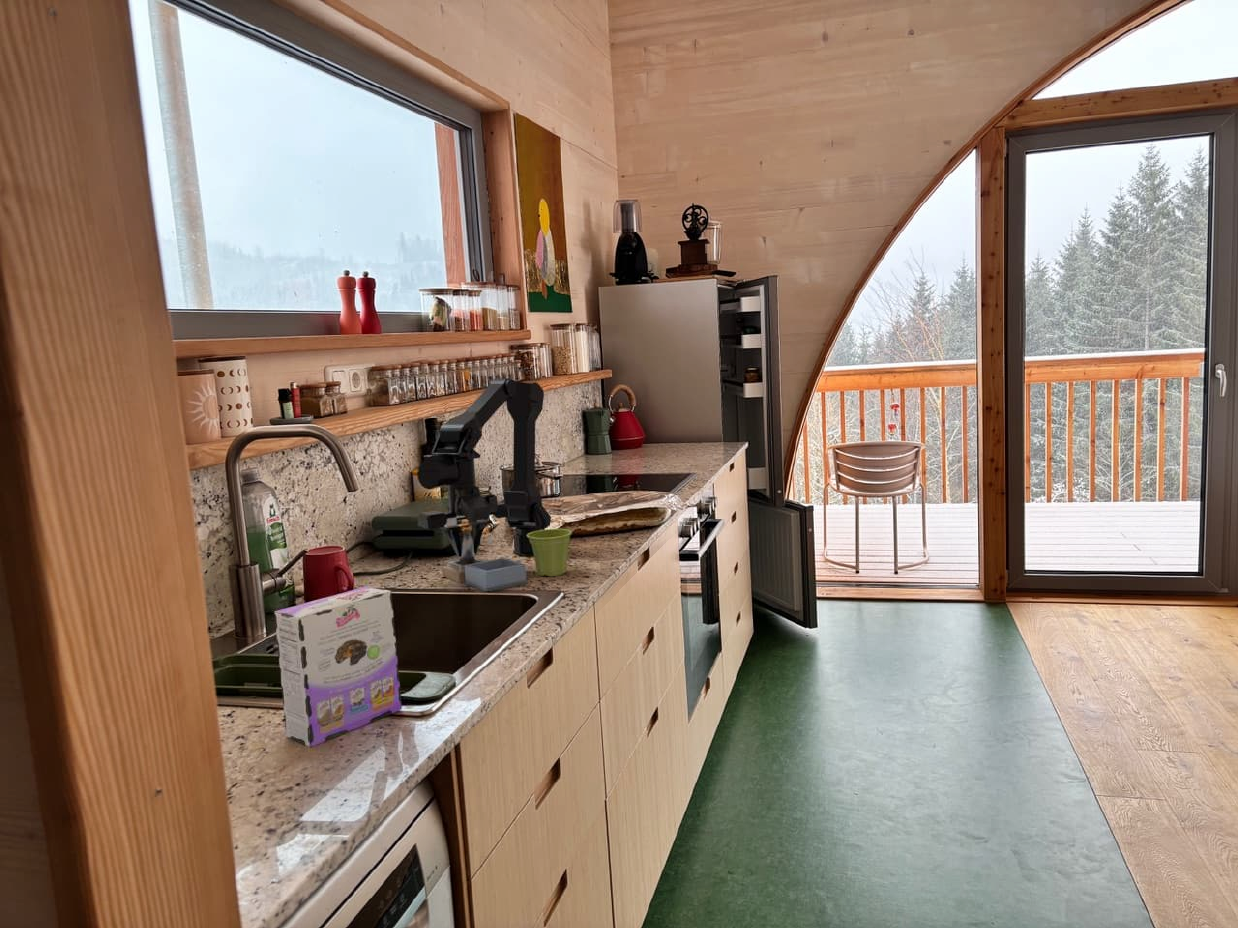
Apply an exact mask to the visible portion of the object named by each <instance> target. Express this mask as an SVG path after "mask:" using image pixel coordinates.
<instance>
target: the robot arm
mask: <svg viewBox="0 0 1238 928" xmlns="http://www.w3.org/2000/svg"><path fill="white" fill-rule="evenodd" d="M544 398H545V392H544V389H543V388H542V386H541V385H540V384H539V383H538V382H537V381H535V382H534V381H532V382H524V381H518V380H516V379H511V378H509V377H508V378H507V377H506V378H502V377H501V378H494V379H492V380H490V382H489V384H488V386H487V387H486V389H484V391H483V392H482V393H481V394H480V395H479V396H478V397H477V398H476V399H475V400H474V401H473V403H471V405H470V406H468V408H467V409H466V410H465V411H464V412H463V413H461V414H459V415H456V416H454V417H452V418H450V419H448V420H447V421H446V422H445V423H443V424H442V425H441V427H440V428H439V433H438V436H437V437H436V440H435V443H434V445H433V448H432V451H431V453H430V454H427V455H423V461H422V462H421V464H420V465H419V466H418V470H417V472H416V475H417V476H416V477H417V480H418V483H419V484H420V486H421V487H422V488H424V489H426V490H433V489H438V488H442V487H445V486H446V487H445V492H446V493H448V503H449V505H447V506H446V510H447V511H446V512H441V511H438V510H431V511H424V512H420V513H419V514H418V516H417V526H418V527H420V528H423V529H426V530H435V529H441V530H442V531H443V533H444V534H445V536H446V537H447V539H448V540H449V542H450V545H451V546H452V549H453V550H454V553H455V554H456V556H457V557H458V558H459V557H461V544H460V536H459V532H460V528H461V526H458V521H462V520H467V521H468V522H467V523H471V524H473V526H474V529H473V540H474V555H477V554H478V553H477V552H478V548H479V545H480V542H481V538H482V535H483V533H484V531H485V529H486V527H487V526H488V525H489V524H492V522H493V520H491V519H490V516H493V517H494V518H495V519H503V518H506V521H507V524H508V526H509V527H508V528H511V529H512V528H514V535H513V545H514V546H513V547H514V548H513V549H514V550H512V553H513V554H516V555H520V556H522V557H532V556H534V554H533V549H532V545H531V544H530V540H529V538H528V537H527V534H528V533H530V532H534V531H538V530H545V529H548V527H550V526H551V521H552V516H551V515H550V513H548V511H547V510H546V509H545V507H544V506H543V499H542V494H541V492H540V491H539V489H538V488H537V487H538V486H536V481H535V479H536V477H535V476H536V422H537V419H539V416H540V414H541V412H542V411H543V407H544ZM505 402H506V409H507V412H508V413H509V415H510V417H511V418H512V421H513V448H512V450H513V451H512V455H513V457H512V458H513V460H512V462H513V463H512V465H513V466H512V484H511V486H510V488H509V490H507V491H506V490H505V491H504V493H503V500H504V501H503V502H499V501H498V496H497V495H496V494H494V493H493V494H487V495H484V496H481V491H480V489H479V488H480V487H479V486H477V483H476V470H475V467H476V466H475V460H476V459H480V458H481V454H480V453H479V452H477V451H476V450H475V447H476V446H477V444H478V443H479V442H480V439H481V438H482V436H483V428H484V426H485V425H486V424H487V423H488V421H489V420H490V419H491V418H492V417H493V416H494V415H495V413H497V411H499V409H500V408H501V407H502V406H503V404H504V403H505Z"/></svg>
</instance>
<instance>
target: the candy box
mask: <svg viewBox="0 0 1238 928" xmlns="http://www.w3.org/2000/svg"><path fill="white" fill-rule="evenodd" d="M393 606H394V605H393V596H392V590H388V589H384V588H377V587H373V586H368V585H366V586H362V587H358V588H355V589H353V590H348V591H345V592H342V593H337V594H335V595H334V594H333V595H330V596H327V597H323V598H319V599H316V600H312V601H309V602H305V603H302V604H297V605H294V606H290V607H286V608H281V609H279V610H274V622H275V629H276V630H275V633H276V642H277V652H278V663H279V664H278V665H279V675H280V685H281V693H282V704H283V705H282V706H283V716H284V717H283V718H284V726H285V727H284V728H285V736H286V737H288V738H289V739H291V740H293V741H295V742H298V743H300V744H302V745H304V746H306V747H309V748H310V747H315V746H317V745H320V744H322V743H325V742H327V741H329V740H331V739H334V738H336V737H339V736H341V735H344V734H346V733H348V732H350V731H353V730H355V729H358V728H361V727H363V726H365V725H367V724H370V723H372V722H375V721H377V720H379V719H382V718H384V717H387V716H389V715H392V714H394V713H396V712H399V711H400V710H402V708H403V704H402V694H401V693H402V692H401V684H400V683H401V682H400V672H399V663H398V651H397V650H398V649H397V644H396V643H397V639H396V630H395V629H396V628H395V619H394V617H395V616H394V609H393V608H394V607H393Z"/></svg>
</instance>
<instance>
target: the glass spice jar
mask: <svg viewBox="0 0 1238 928" xmlns="http://www.w3.org/2000/svg"><path fill="white" fill-rule="evenodd" d="M457 525H458V526H461V528H460V532H459V536H460V544H461V557H458V559H459V560H460V565H462V566H463V565H467V564H472V563H475V558H476V557H475V555H476V554H474V540H473V529H474V526H473V524H471V523H468V522H466V523H459V524H458V523H457Z"/></svg>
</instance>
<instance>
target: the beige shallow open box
mask: <svg viewBox="0 0 1238 928" xmlns="http://www.w3.org/2000/svg"><path fill="white" fill-rule="evenodd" d="M483 561H484V560H482V559H479V558H476V557H475V563H478V562H483ZM447 563H448V565H446V566H442V569H441V571H442V577H444V578H447V579H449V580H452V581H454V582H456V583H466V576H465V565H463V566H462V565H460V560H454V561H448V562H447Z"/></svg>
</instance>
